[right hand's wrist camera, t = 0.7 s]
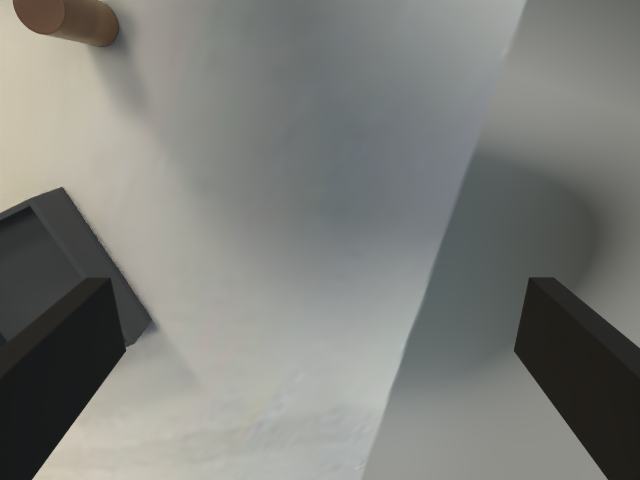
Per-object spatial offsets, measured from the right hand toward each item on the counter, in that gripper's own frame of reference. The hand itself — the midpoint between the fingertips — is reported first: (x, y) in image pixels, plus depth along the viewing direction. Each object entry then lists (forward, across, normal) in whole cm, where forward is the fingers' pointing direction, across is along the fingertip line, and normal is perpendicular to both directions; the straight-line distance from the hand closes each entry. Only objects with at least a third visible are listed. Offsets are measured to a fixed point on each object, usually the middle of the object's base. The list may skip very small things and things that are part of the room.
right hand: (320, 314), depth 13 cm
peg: (+24, -17, +11) cm, 32 cm away
